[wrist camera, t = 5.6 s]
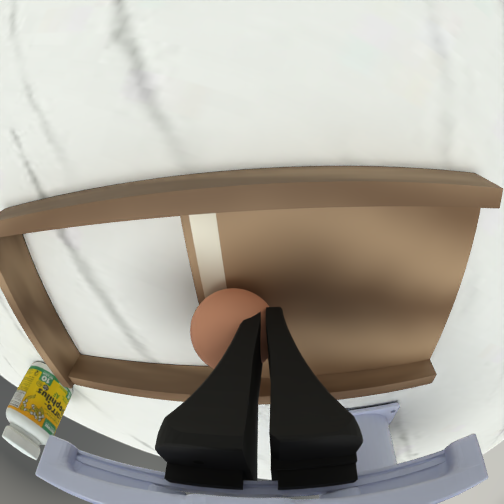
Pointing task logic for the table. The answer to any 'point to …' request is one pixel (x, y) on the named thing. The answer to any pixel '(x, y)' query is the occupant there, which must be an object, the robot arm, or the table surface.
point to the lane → (281, 267)
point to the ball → (225, 323)
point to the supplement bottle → (35, 410)
